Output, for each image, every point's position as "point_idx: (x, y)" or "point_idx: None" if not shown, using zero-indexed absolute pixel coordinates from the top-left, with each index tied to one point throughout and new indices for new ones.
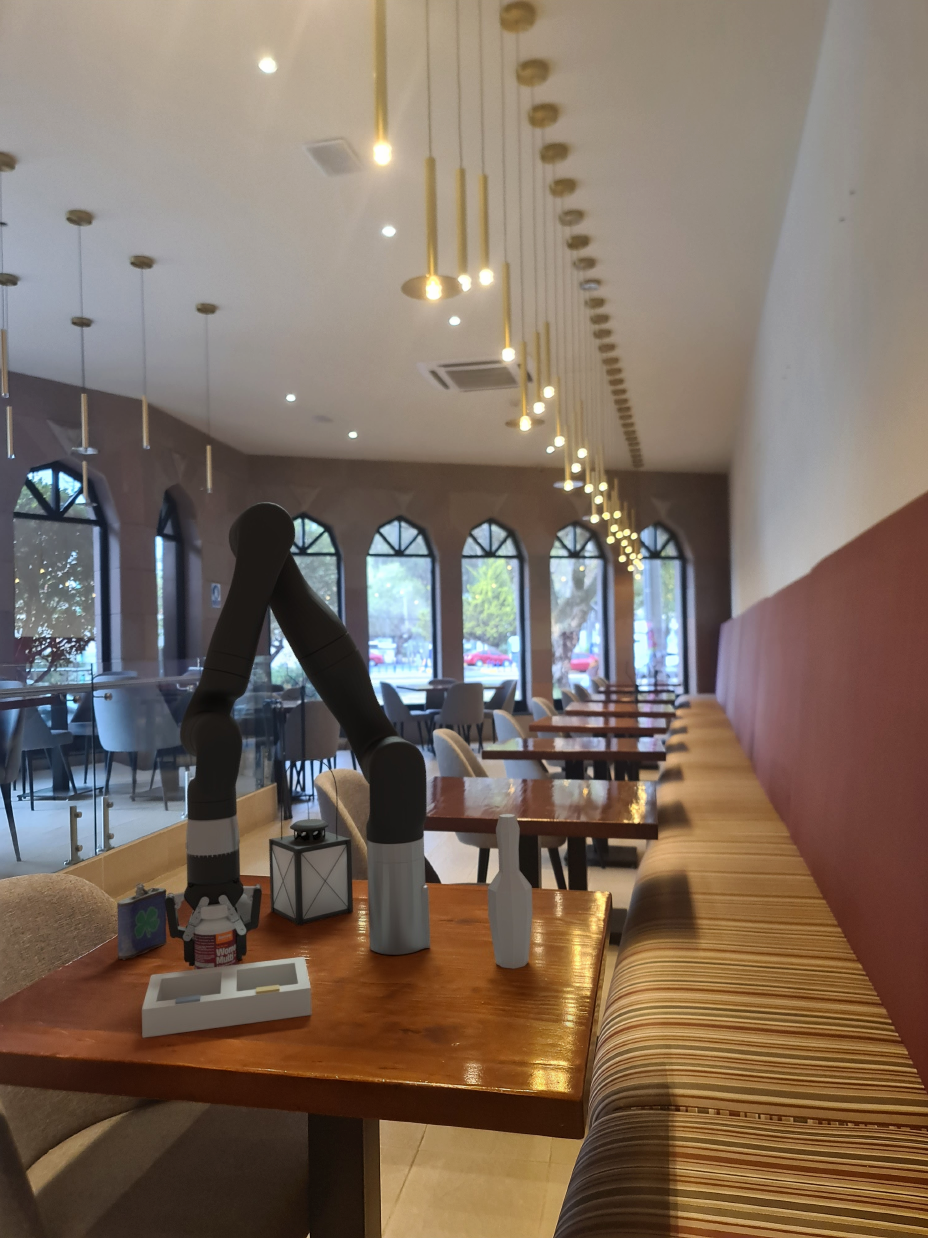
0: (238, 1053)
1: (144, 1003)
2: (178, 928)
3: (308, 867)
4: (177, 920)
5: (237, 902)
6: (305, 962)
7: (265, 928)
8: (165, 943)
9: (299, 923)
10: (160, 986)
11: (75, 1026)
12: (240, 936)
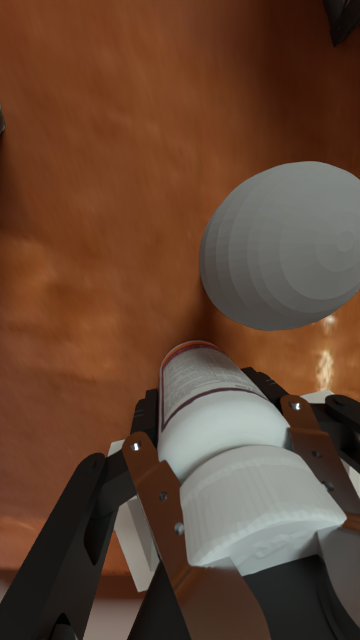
0: None
1: (134, 578)
2: (110, 506)
3: None
4: (88, 512)
5: (322, 316)
6: None
7: (254, 44)
8: (2, 122)
9: (342, 37)
10: (132, 510)
11: (32, 512)
12: None
